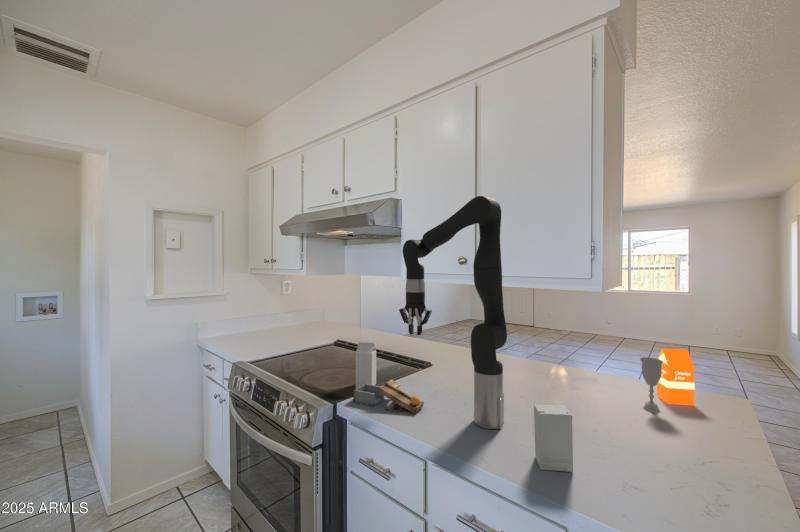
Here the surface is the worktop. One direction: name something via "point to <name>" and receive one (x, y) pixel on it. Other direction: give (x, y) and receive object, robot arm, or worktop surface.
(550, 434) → the skincare box
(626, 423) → the worktop surface
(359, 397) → the tray
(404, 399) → the lever
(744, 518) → the worktop surface
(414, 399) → the ball
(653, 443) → the worktop surface
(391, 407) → the fulcrum
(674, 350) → the orange juice
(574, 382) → the worktop surface
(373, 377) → the milk carton
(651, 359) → the chalice
